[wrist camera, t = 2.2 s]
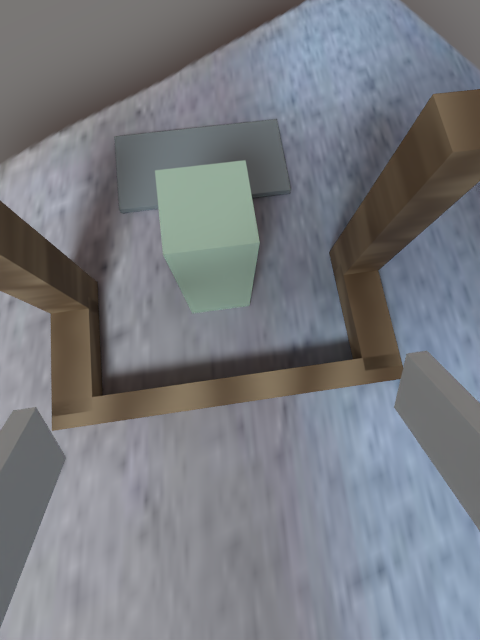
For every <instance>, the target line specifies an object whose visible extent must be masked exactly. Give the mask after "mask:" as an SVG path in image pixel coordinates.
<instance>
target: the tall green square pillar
mask: <svg viewBox="0 0 480 640" xmlns="http://www.w3.org/2000/svg"><path fill="white" fill-rule="evenodd" d="M155 177H156V187H157V197H158V208H159V218H160V228H161V239H162V249H163V256H164V258H165V260H166V262H167V264H168V266H169V267H170V269H171V271H172V273H173V275H174V277H175V279H176V281H177V283H178V285H179V287H180V289H181V291H182V293H183V295H184V297H185V299H186V301H187V303H188V305H189V307H190V309H191V311H192V313H200V312H207V311H215V310H222V309H229V308H237V307H244V306H249V305H250V299H251V293H252V287H253V281H254V274H255V268H256V262H257V256H258V250H259V244H260V241H259V235H258V230H257V224H256V218H255V212H254V206H253V201H252V195H251V189H250V183H249V177H248V171H247V166H246V160H243V161H234V162H226V163H217V164H208V165H199V166H190V167H181V168H172V169H163V170H155Z"/></svg>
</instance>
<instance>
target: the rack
mask: <svg viewBox="0 0 480 640" xmlns="http://www.w3.org/2000/svg"><path fill="white" fill-rule="evenodd" d="M479 181H480V89H477V90H467V91H458V92H448V93H439V94H433V95H432V96H431V98H430V99H429V101H428V102H427V104H426V106H425V107H424V109H423V110H422V112H421V113H420V115H419V116H418V118H417V119H416V121H415V122H414V124H413V125H412V127H411V128H410V130H409V131H408V133H407V135H406V136H405V138H404V139H403V141H402V142H401V144H400V145H399V147H398V148H397V150H396V151H395V153H394V154H393V156H392V157H391V159H390V160H389V162H388V164H387V165H386V167H385V168H384V170H383V171H382V173H381V174H380V176H379V177H378V179H377V180H376V182H375V183H374V185H373V186H372V188H371V189H370V191H369V193H368V194H367V196H366V197H365V199H364V200H363V202H362V203H361V205H360V206H359V208H358V209H357V211H356V212H355V214H354V215H353V217H352V218H351V220H350V222H349V223H348V225H347V226H346V228H345V229H344V231H343V232H342V234H341V235H340V237H339V238H338V240H337V241H336V243H335V244H334V246H333V247H332V249H331V251H330V252H329V254H330V258H331V263H332V267H333V272H334V276H335V281H336V285H337V289H338V294H339V298H340V303H341V307H342V312H343V316H344V321H345V325H346V330H347V334H348V339H349V343H350V348H351V352H352V357H353V359H352V360H345V361H339V362H332V363H325V364H318V365H311V366H304V367H297V368H290V369H283V370H276V371H269V372H263V373H256V374H249V375H242V376H235V377H228V378H221V379H214V380H207V381H200V382H193V383H187V384H180V385H173V386H166V387H159V388H152V389H145V390H138V391H131V392H124V393H117V394H111V395H104V396H103V394H102V373H101V351H100V329H99V308H98V286H97V281H95V280H94V279H93V278H92V277H91V276H89V275H88V274H87V273H86V272H85V271H83V270H82V269H81V268H80V267H79V266H78V265H76V264H75V263H74V262H73V261H72V260H70V259H69V258H68V257H67V256H66V255H64V254H63V253H62V252H61V251H60V250H58V249H57V248H56V247H55V246H54V245H52V244H51V243H50V242H49V241H48V240H47V239H45V238H44V237H43V236H42V235H41V234H39V233H38V232H37V231H36V230H35V229H33V228H32V227H31V226H30V225H29V224H27V223H26V222H25V221H24V220H23V219H21V218H20V217H19V216H18V215H17V214H15V213H14V212H13V211H12V210H11V209H10V208H8V207H7V206H6V205H5V204H4V203H2V202H1V201H0V291H2V292H4V293H7V294H9V295H11V296H13V297H15V298H18V299H20V300H22V301H24V302H26V303H29V304H31V305H33V306H35V307H37V308H40V309H42V310H44V311H46V312H48V313H51V382H52V431H54V430H60V429H67V428H74V427H81V426H87V425H94V424H101V423H108V422H114V421H121V420H128V419H134V418H141V417H148V416H155V415H161V414H168V413H175V412H181V411H188V410H195V409H202V408H208V407H215V406H222V405H228V404H235V403H242V402H249V401H255V400H262V399H269V398H275V397H282V396H289V395H296V394H302V393H309V392H316V391H323V390H329V389H336V388H343V387H349V386H356V385H363V384H370V383H376V382H383V381H390V380H396V379H401V376H402V371H403V365H402V361H401V357H400V354H399V350H398V346H397V342H396V338H395V334H394V330H393V326H392V322H391V318H390V315H389V311H388V307H387V303H386V299H385V295H384V291H383V287H382V283H381V279H380V276H379V272H378V270H379V269H380V268H382V267H383V266H384V265H385V264H386V263H387V262H388V261H389V260H391V259H392V258H393V257H394V256H395V255H396V254H397V253H399V252H400V251H401V250H402V249H403V248H404V247H405V246H407V245H408V244H409V243H410V242H411V241H412V240H413V239H414V238H416V237H417V236H418V235H419V234H420V233H421V232H422V231H424V230H425V229H426V228H427V227H428V226H429V225H430V224H431V223H433V222H434V221H435V220H436V219H437V218H438V217H439V216H441V215H442V214H443V213H444V212H445V211H446V210H447V209H449V208H450V207H451V206H452V205H453V204H454V203H455V202H456V201H458V200H459V199H460V198H461V197H462V196H463V195H464V194H466V193H467V192H468V191H469V190H470V189H471V188H472V187H473V186H475V185H476V184H477V183H478V182H479Z"/></svg>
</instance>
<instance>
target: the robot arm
mask: <svg viewBox="0 0 480 640" xmlns="http://www.w3.org/2000/svg"><path fill="white" fill-rule="evenodd" d="M394 408H395V409H396V411H397V412H398V413H399V415H400V416H401V418H402V419H403V421H404V422H405V424H406V425H407V426H408V428H409V429H410V431H411V432H412V434H413V435H414V437H415V438H416V439H417V441H418V442H419V444H420V445H421V447H422V448H423V450H424V451H425V452H426V454H427V455H428V457H429V458H430V460H431V461H432V463H433V464H434V465H435V467H436V468H437V470H438V471H439V473H440V474H441V476H442V477H443V478H444V480H445V481H446V483H447V484H448V486H449V487H450V489H451V490H452V491H453V493H454V494H455V496H456V497H457V499H458V500H459V502H460V503H461V504H462V506H463V507H464V509H465V510H466V512H467V513H468V515H469V516H470V517H471V519H472V520H473V522H474V523H475V525H476V526H477V528H478V529H479V530H480V403H479V402H478V401H477V400H476V399H475V398H474V397H473V396H472V395H471V394H470V393H469V392H468V391H467V390H466V389H465V388H464V387H463V386H462V385H461V384H460V383H459V382H458V381H457V380H456V379H455V378H454V377H453V376H452V375H451V374H450V373H449V372H448V371H447V370H446V369H445V368H444V367H443V366H442V365H441V364H440V363H439V362H438V361H437V360H436V359H435V358H434V357H433V356H432V355H431V354H430V353H429V352H428V351H422V352H415V353H408V354H406V358H405V363H404V367H403V371H402V376H401V380H400V384H399V389H398V393H397V397H396V401H395V406H394ZM65 459H66V457H65V455H64V453H63V451H62V450H61V448H60V446H59V445H58V443H57V441H56V440H55V438H54V436H53V435H52V433H51V431H50V430H49V428H48V426H47V425H46V423H45V421H44V419H43V418H42V416H41V414H40V413H39V411H38V409H37V408H36V407H35V408H28V409H21V410H14V411H13V412H12V413H11V415H10V417H9V418H8V420H7V421H6V423H5V424H4V426H3V428H2V429H1V431H0V627H1V625H2V622H3V620H4V617H5V614H6V612H7V609H8V607H9V604H10V601H11V599H12V596H13V594H14V591H15V588H16V586H17V583H18V581H19V578H20V575H21V573H22V570H23V568H24V565H25V563H26V560H27V557H28V555H29V552H30V550H31V547H32V544H33V542H34V539H35V537H36V534H37V531H38V529H39V526H40V524H41V521H42V519H43V516H44V513H45V511H46V508H47V506H48V503H49V500H50V498H51V495H52V493H53V490H54V487H55V485H56V482H57V480H58V477H59V474H60V472H61V469H62V467H63V464H64V462H65Z"/></svg>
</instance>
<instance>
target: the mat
mask: <svg viewBox="0 0 480 640" xmlns="http://www.w3.org/2000/svg"><path fill="white" fill-rule="evenodd" d="M114 139H115V154H116V170H117V185H118V200H119V210H120V212H121V213H128V212H137V211H145V210H153V209H159V208H158V197H157V187H156V177H155V170H163V169H172V168H181V167H190V166H199V165H208V164H217V163H226V162H234V161H243V160H246V166H247V171H248V177H249V183H250V189H251V195H252V198H255V197H264V196H272V195H281V194H289V193H290V191H291V188H290V183H289V178H288V173H287V168H286V163H285V158H284V153H283V148H282V143H281V138H280V134H279V129H278V124H277V119H274V120H265V121H256V122H246V123H237V124H227V125H218V126H209V127H199V128H190V129H180V130H171V131H162V132H152V133H143V134H134V135H124V136H115V137H114Z"/></svg>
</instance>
